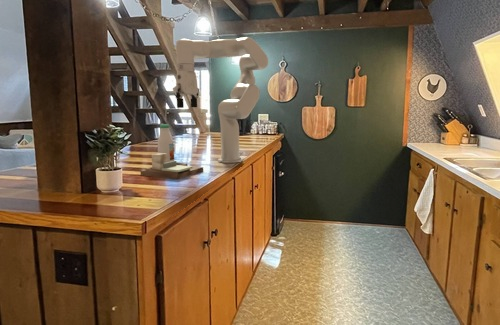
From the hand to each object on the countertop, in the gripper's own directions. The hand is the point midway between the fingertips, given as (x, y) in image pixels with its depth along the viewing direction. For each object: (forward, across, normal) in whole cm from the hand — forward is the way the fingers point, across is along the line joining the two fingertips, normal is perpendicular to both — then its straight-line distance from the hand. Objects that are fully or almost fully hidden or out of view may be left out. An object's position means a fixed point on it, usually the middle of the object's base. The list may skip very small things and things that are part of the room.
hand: (187, 107), depth 163 cm
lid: (+25, -16, -7) cm, 31 cm away
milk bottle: (+28, +3, +17) cm, 33 cm away
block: (+26, -16, +3) cm, 31 cm away
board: (+28, -12, 0) cm, 31 cm away
